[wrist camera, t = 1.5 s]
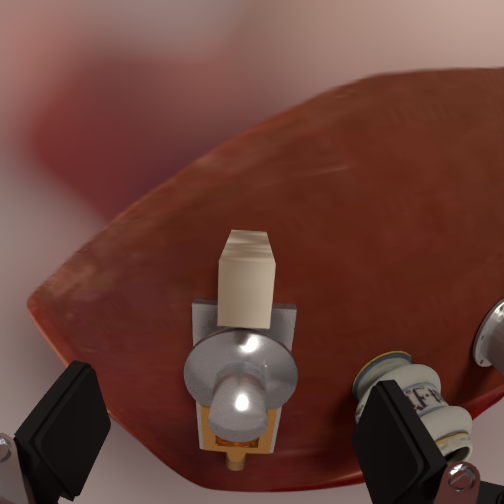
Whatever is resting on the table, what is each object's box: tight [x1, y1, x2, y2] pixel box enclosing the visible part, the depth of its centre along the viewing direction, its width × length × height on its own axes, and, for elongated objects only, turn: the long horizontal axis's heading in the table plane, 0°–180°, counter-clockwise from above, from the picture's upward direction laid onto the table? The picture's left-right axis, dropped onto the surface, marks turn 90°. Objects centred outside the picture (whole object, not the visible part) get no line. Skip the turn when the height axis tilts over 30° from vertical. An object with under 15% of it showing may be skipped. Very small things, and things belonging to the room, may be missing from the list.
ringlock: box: [184, 298, 297, 471], centre depth 28 cm, size 11×25×13 cm, turn 176°
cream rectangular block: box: [217, 230, 276, 329], centre depth 24 cm, size 4×4×12 cm
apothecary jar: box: [352, 351, 473, 466], centre depth 26 cm, size 12×12×18 cm
